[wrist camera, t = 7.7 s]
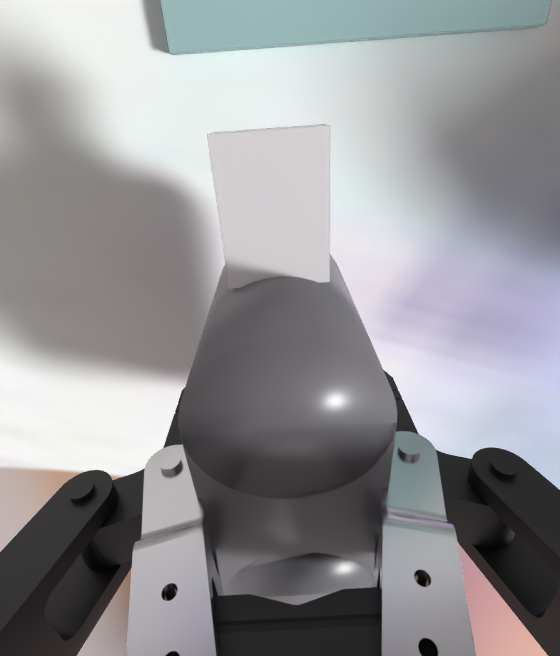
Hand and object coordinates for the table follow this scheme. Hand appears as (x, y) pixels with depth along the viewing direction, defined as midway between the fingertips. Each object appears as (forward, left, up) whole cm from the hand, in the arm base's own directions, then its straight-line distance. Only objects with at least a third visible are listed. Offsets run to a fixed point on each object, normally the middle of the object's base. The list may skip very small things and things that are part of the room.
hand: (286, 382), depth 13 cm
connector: (0, -1, -1) cm, 2 cm away
